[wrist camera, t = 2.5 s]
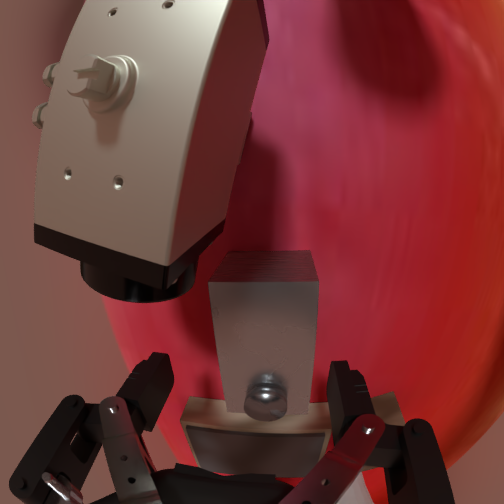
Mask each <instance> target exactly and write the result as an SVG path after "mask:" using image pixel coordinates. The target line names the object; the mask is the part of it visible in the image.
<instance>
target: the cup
mask: <svg viewBox="0 0 504 504" xmlns="http://www.w3.org/2000/svg"><path fill="white" fill-rule="evenodd" d="M337 504H374V503H373V501H372V499H371V497H370V494H369V492H368V490H367V488H366V485H365V482H364V479H363V475H362V472H360V473H359V475H358V476H357V478H356V479H355V480H354V482H353V483H352V484H351V486H350V487H349V489H348V490H347V491H346V493H345V494H344V495H343V497H342V498H341V499H340V501H339V502H338V503H337Z"/></svg>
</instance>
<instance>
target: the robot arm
mask: <svg viewBox="0 0 504 504" xmlns="http://www.w3.org/2000/svg"><path fill="white" fill-rule="evenodd" d="M173 385H174V374H173V370H172V366H171V362H170V358H169V355H168V354H166V353H158V352H153V353H152V354H151V356H150V357H149V359H148V360H143V361H141V362H140V363H139V364H137V365H136V366H135V368H134V369H133V371H132V373H131V374H130V375H129V377H128V378H127V379H126V381H125V382H124V384H123V386H122V387H121V388H120V390H119V391H118V393H117V394H116V396H112V397H107V398H105V399H104V400H102V401H101V403H100V404H90V403H85V401H84V399H83V398H82V397H81V396H79V395H70V396H67V397H65V398H64V399H63V400H62V401H61V403H60V404H59V405H58V407H57V408H56V410H55V411H54V413H53V414H52V415H51V417H50V418H49V420H48V421H47V422H46V424H45V425H44V427H43V428H42V430H41V431H40V432H39V434H38V435H37V437H36V438H35V440H34V442H33V443H32V444H31V446H30V447H29V449H28V450H27V452H26V454H25V455H24V457H23V458H22V460H21V461H20V463H19V465H18V466H17V468H16V470H15V471H14V473H13V475H12V476H11V478H10V480H9V488H10V490H11V492H12V493H13V494H14V495H15V496H16V497H17V498H18V499H20V500H21V501H22V502H24V504H83V496H82V493H81V492H80V490H81V488H82V486H83V484H84V481H85V479H86V477H87V475H88V473H89V471H90V469H91V467H92V465H93V463H94V460H95V458H96V456H97V454H98V452H99V450H100V448H101V446H102V444H103V448H104V452H105V456H106V460H107V463H108V467H109V471H110V474H111V478H112V481H113V484H114V487H115V490H116V492H115V493H112V494H110V495H108V496H106V497H104V498H101V499H99V500H97V501H94V502H92V503H90V504H337V503H338V502H339V501H340V499H341V498H342V497H343V495H344V494H345V493H346V491H347V490H348V489H349V487H350V486H351V484H352V483H353V482H354V480H355V479H356V478H357V476H358V475H359V473H360V472H361V470H362V469H363V467H364V466H373V467H384V472H385V479H386V486H387V494H388V502H389V504H455V502H454V497H453V493H452V489H451V485H450V482H449V478H448V475H447V471H446V468H445V465H444V461H443V458H442V455H441V452H440V449H439V446H438V443H437V440H436V437H435V434H434V432H433V429H432V426H431V425H430V423H428V422H427V421H425V420H423V419H412V420H410V421H408V422H407V423H406V424H405V425H404V426H399V425H390V424H386V423H384V421H383V420H382V419H381V418H380V417H379V416H376V414H375V410H374V407H373V404H372V401H371V398H370V395H369V392H368V388H367V386H366V382H365V379H364V376H363V375H362V374H361V373H360V372H359V371H358V370H350V368H349V365H348V362H347V360H345V361H332V362H331V365H330V371H329V376H328V381H327V399H328V406H329V412H330V419H331V426H332V433H333V441H334V448H333V449H332V451H328V452H327V453H326V454H325V455H324V456H323V457H322V459H321V460H320V461H319V462H318V463H317V464H316V465H315V466H314V468H313V469H312V470H311V471H310V472H309V473H308V474H307V475H306V476H305V477H304V478H303V480H302V481H301V482H300V483H299V484H298V485H297V486H296V487H293V486H292V485H289V484H287V483H285V482H282V481H278V480H275V477H276V474H254V473H248V474H240V475H230V476H222V475H219V474H216V473H213V472H210V471H208V470H205V469H202V468H200V467H194V466H189V465H184V464H179V463H176V465H175V468H174V469H165V470H160V471H157V470H156V468H155V466H154V465H153V462H152V460H151V457H150V455H149V453H148V450H147V448H146V445H145V442H144V440H143V437H142V435H141V434H142V432H143V430H146V431H149V432H152V430H153V428H154V426H155V424H156V421H157V419H158V417H159V415H160V413H161V411H162V409H163V407H164V404H165V402H166V400H167V398H168V396H169V394H170V392H171V390H172V388H173ZM76 432H77V434H76ZM75 434H76V436H75ZM74 436H75V438H74V440H73V441H72V439H73V437H74ZM71 441H72V443H71ZM70 443H71V445H70Z"/></svg>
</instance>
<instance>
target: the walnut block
mask: <svg viewBox="0 0 504 504" xmlns="http://www.w3.org/2000/svg"><path fill="white" fill-rule="evenodd" d="M371 401H372V404H373V407H374V410H375V414H376V416H379V417H380V418H381V419H382V420H383V421H384V423H386V424H390V425H399V426H404V425H405V421H404V418H403V416H402V413H401V410H400V407H399V405H398V402H397V399H396V397H395V394H394V392H393V391H392V392H389V393H386V394H383V395H380V396H376V397H373V398H371ZM373 468H377V467H373V466H364V467H363V469H362V470H361V472H362V471H366V470H370V469H373Z"/></svg>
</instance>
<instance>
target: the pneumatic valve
mask: <svg viewBox="0 0 504 504" xmlns="http://www.w3.org/2000/svg"><path fill="white" fill-rule="evenodd" d="M268 44H269V34H268V27H267V21H266V14H265V8H264V2H263V0H86V2H85V4H84V5H83V7H82V10H81V12H80V14H79V16H78V18H77V20H76V22H75V24H74V27H73V29H72V32H71V34H70V36H69V38H68V41H67V44H66V46H65V49H64V51H63V54H62V57H61V60H60V62H58V63H54V64H52V65H49V66H47V68H46V69H45V71H44V73H43V82H44V84H45V85H46V86H48V87H52V89H51V93H50V97H49V100H48V102H46V103H43V104H41V105H39V106H37V107H36V108H35V110H34V112H33V115H32V122H33V124H34V125H35V126H36V127H37V128H39V129H42V134H41V140H40V146H39V153H38V161H37V171H36V182H35V198H34V242H35V243H37V244H39V245H42V246H44V247H47V248H49V249H51V250H54V251H56V252H59V253H61V254H64V255H66V256H69V257H71V258H74V259H76V260H79V261H80V269H81V276H82V278H83V280H84V281H85V282H86V283H87V284H88V285H89V286H90V287H91V288H92V289H94V290H95V291H97V292H98V293H100V294H102V295H105V296H107V297H110V298H113V299H117V300H121V301H126V302H135V303H154V302H162V301H167V300H171V299H174V298H177V297H179V296H181V295H183V294H185V293H186V292H188V291H189V290H190V289H191V288H192V286H193V284H194V282H195V277H196V271H197V265H198V259H199V255H200V254H201V253H202V252H203V251H204V250H205V249H206V248H207V247H208V246H209V245H211V244H212V242H213V241H214V240H215V239H216V238H217V237H218V236H219V235H220V234H221V233H222V232H223V228H224V223H225V218H226V214H227V209H228V205H229V200H230V195H231V191H232V186H233V182H234V178H235V173H236V169H237V165H240V161H241V157H242V153H243V148H244V144H245V140H246V136H247V132H248V128H249V124H250V120H251V116H252V112H250V111H251V107H252V103H253V99H254V95H255V91H256V88H257V84H258V80H259V76H260V72H261V69H262V65H263V61H264V58H265V54H266V51H267V47H268Z"/></svg>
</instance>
